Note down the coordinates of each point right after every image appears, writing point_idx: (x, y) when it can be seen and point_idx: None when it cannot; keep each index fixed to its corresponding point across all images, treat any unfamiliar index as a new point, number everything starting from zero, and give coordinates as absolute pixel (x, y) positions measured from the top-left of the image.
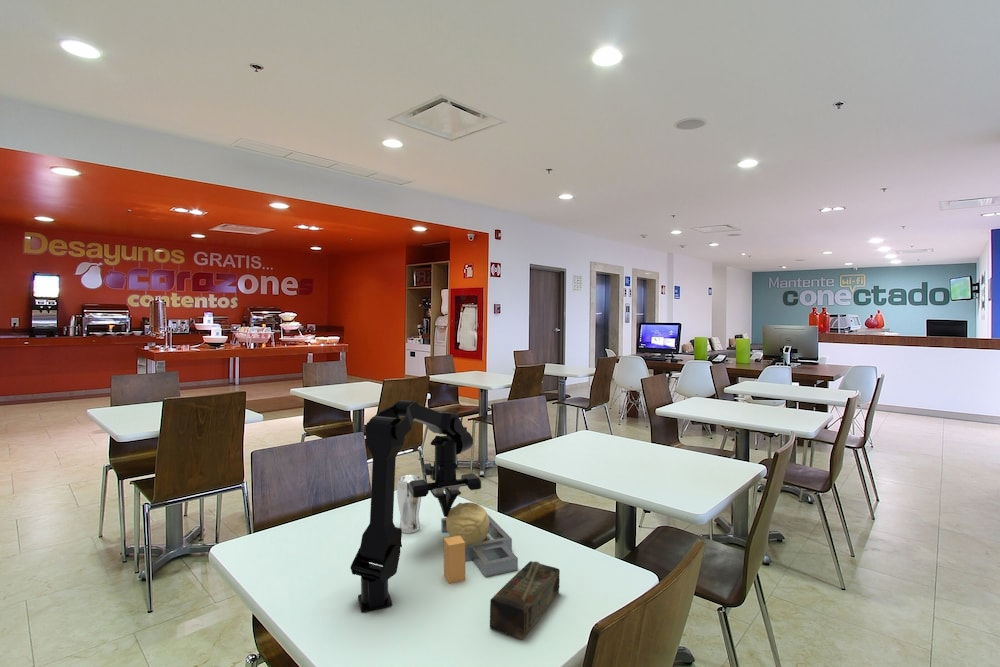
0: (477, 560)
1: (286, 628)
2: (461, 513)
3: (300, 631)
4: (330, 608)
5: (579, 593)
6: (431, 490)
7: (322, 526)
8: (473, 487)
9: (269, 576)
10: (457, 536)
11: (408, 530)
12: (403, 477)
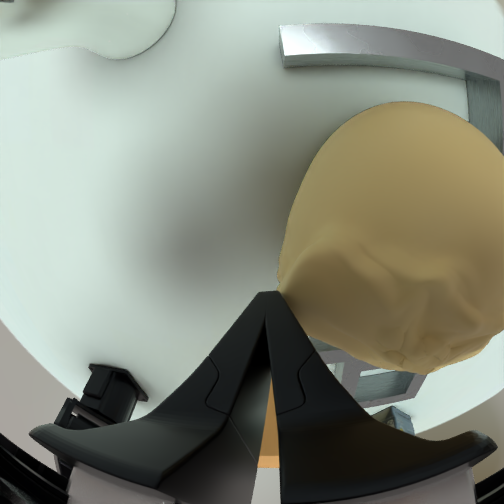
0: (338, 371)
1: (50, 371)
2: (374, 360)
3: (65, 382)
4: (69, 365)
5: (429, 415)
6: (64, 460)
7: None
8: (484, 494)
9: None
10: (273, 456)
11: (115, 56)
12: None
